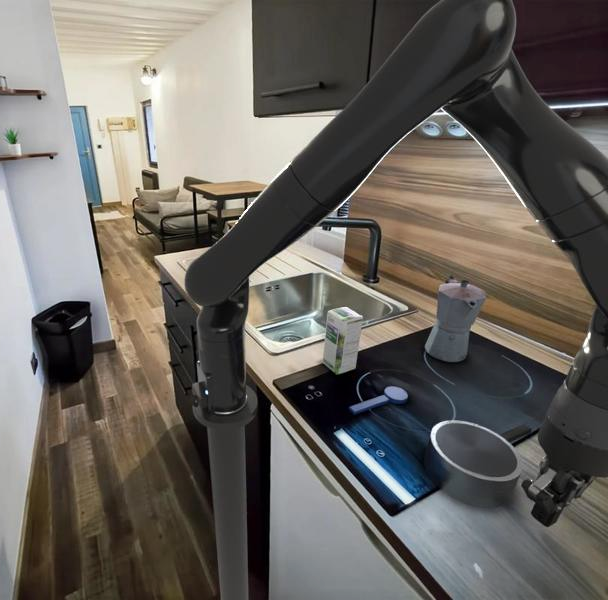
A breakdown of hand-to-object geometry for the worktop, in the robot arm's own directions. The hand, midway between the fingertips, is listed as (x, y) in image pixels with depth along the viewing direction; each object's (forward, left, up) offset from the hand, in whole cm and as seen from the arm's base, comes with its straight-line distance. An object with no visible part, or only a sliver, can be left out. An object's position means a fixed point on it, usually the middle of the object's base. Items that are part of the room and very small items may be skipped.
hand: (541, 519), depth 50 cm
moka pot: (+28, +37, -3) cm, 47 cm away
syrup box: (+1, +43, -3) cm, 43 cm away
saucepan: (+3, +10, -3) cm, 11 cm away
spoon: (0, +29, -3) cm, 29 cm away
